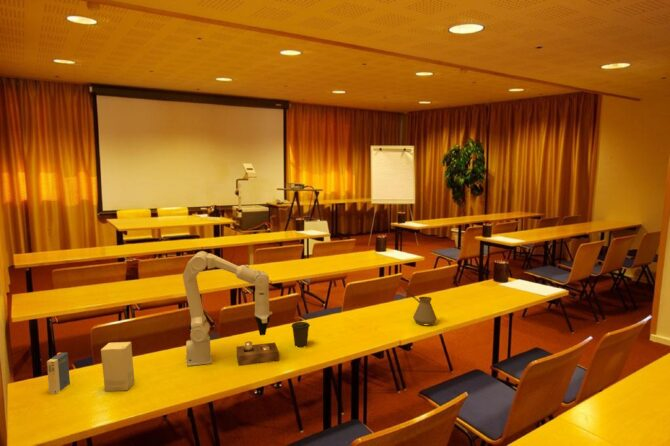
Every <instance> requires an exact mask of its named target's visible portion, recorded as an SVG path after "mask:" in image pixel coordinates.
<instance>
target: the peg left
mask: <svg viewBox="0 0 670 446" xmlns="http://www.w3.org/2000/svg"><path fill="white" fill-rule="evenodd" d="M252 345H253V341H245V342H244V346H245V352H252Z"/></svg>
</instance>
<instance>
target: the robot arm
mask: <svg viewBox="0 0 670 446" xmlns="http://www.w3.org/2000/svg"><path fill="white" fill-rule="evenodd" d="M206 267H207V269H208V270H209V269H212V268H213V269H214V268H217V269H221V270H223V271H226V272H229V273H232V274H233V275H234V274H235V276H236V278H237V279H239V280H242V281H243V282H246V283H248V284H251V285H254V288H255V289H254V316H255V317H254V319H255V322H256V324H257V328H258V333H259V336H261V337H262V336H266V333H267V329H268V328H267V327H268V324H269V322H270V315H273V311H270V288H269V287H270V286H269V284H270V277H269V275H268V273H266V272H265V271H262V270H260V269H257V270H256V269H254V268H252V267H250V265H248V264H242V265H237V264H234V263H232V262H230V261H228V260H226V259H223V258H222V257H219V256H218V255H215V254H213V253H208V252H206V251H204V250H201V251H198V252H196V253H195V255H193V256H192V257H191V259H189V260H188V261H187V263H186V266H185V269H184V270H183V273H182V280H183V285H184V290H185V294H186V295H185V296H186V298H187V303H188V304H187V305H188V309H189V313H190V329H191V331H190V332H189V333H190V334H189V335H190V336H189V337H190V339H189V340H186V343H185V344H186V345H185V347H186V352H185V353H186V355H185V359H186V366H187V367H188V366H189V367H191V366H198V365H199V366H200V365H206V364H207V365H208V364H209V365H210V364H213V363H212V362H213V358H212V356H213V355H212V354H211V353H212V352H211V336H210V335H209V332H210V330H211V329H210V328H211V325H210V323H209V321H207V317H206V315H205V312H204V308H203V303H202V298H201V294H200V293H201V292H200V288H199V284H198V279H197V278H198V277H197V276H198V275H199V274H200V273H201V272H202V271H203V270H205V269H206Z"/></svg>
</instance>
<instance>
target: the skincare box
mask: <svg viewBox="0 0 670 446" xmlns="http://www.w3.org/2000/svg"><path fill="white" fill-rule="evenodd" d="M100 355H101V364H102V365H101V366H102V375H103V377H102V378H103V384H104V391H105V392H114V391H115V392H118V391H119V392H120V391H128V390H130V388H131V387H132V386H133V385H134V384H135V371H134V362H133V361H134V360H133V349H132V341H120V342H119V341H118V342H117V341H115V342H108V343H107V344H106V345H104V346H103V347H102V348H101V349H100Z"/></svg>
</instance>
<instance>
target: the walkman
mask: <svg viewBox="0 0 670 446" xmlns="http://www.w3.org/2000/svg"><path fill="white" fill-rule="evenodd" d="M69 365H70V364H69V354H68V352H58V353H57V354H56V355H54V356H53V357H51V358H49V360H46V367H47V381H48V391H49V394H50V395H51V394H52V395H57V394H58V393H60V392H61V391H62V390H63V389H66V387H67V386H69V384H71V382H70V381H71V380H70V368H69Z"/></svg>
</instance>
